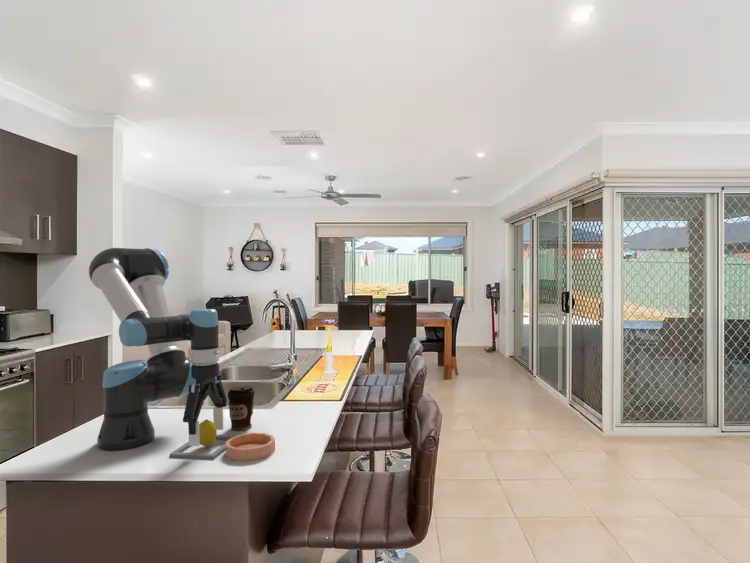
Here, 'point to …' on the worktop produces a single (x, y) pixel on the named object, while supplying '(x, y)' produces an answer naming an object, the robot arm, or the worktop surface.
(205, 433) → the lemon
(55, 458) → the worktop surface
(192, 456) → the gray rectangular frame
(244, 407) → the coffee cup
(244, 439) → the bowl
